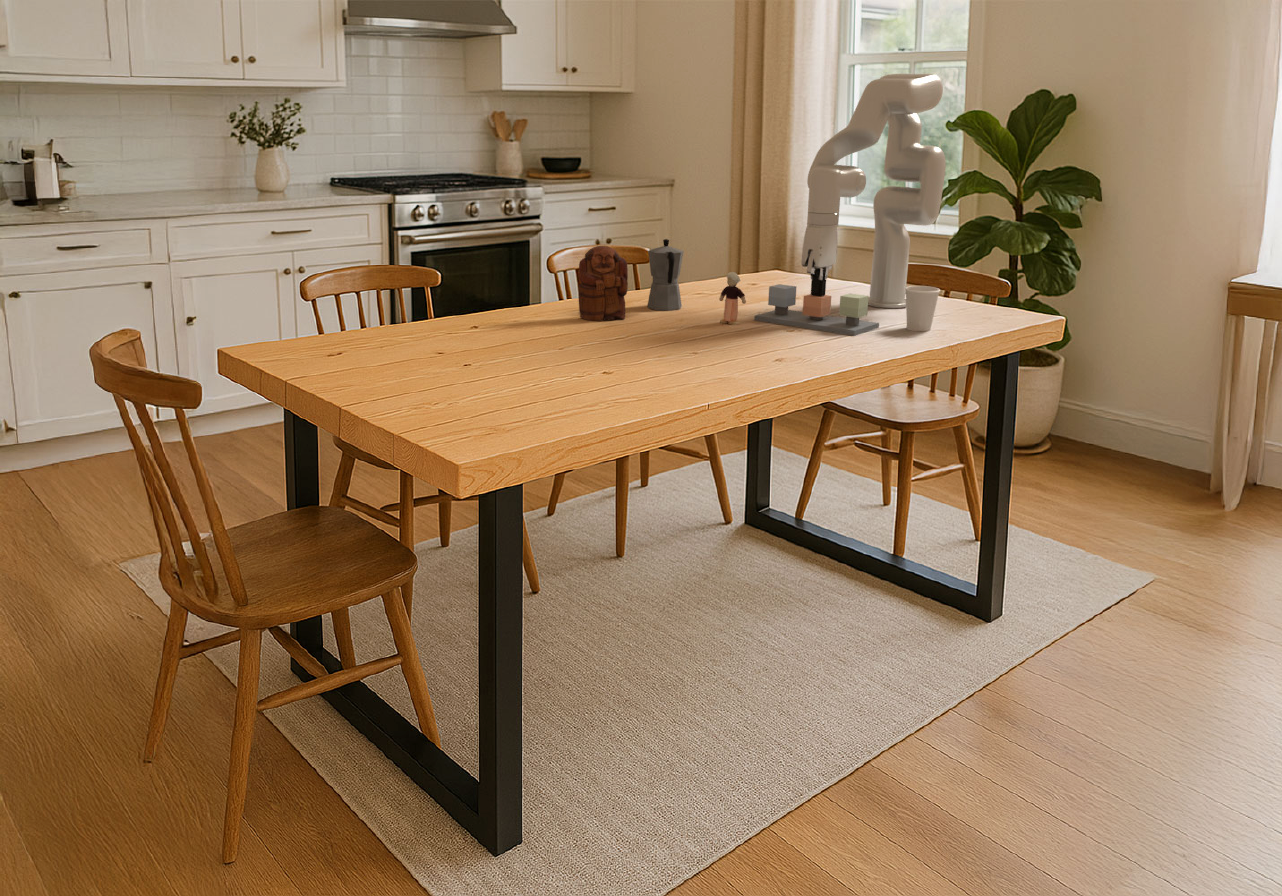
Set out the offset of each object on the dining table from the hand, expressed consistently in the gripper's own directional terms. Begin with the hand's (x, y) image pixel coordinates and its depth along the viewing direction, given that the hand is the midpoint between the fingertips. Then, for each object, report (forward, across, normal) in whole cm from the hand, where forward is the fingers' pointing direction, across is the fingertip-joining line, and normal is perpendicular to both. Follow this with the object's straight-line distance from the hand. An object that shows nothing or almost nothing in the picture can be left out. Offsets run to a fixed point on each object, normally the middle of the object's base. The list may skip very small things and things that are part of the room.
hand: (817, 295), depth 269 cm
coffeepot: (+7, +9, -40) cm, 42 cm away
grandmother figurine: (+7, +14, -16) cm, 23 cm away
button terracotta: (+5, 0, 0) cm, 5 cm away
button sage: (+4, 0, +10) cm, 11 cm away
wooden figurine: (+7, +31, -43) cm, 54 cm away
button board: (+7, 0, 0) cm, 7 cm away
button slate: (+4, 0, -10) cm, 11 cm away
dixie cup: (+7, -12, +22) cm, 26 cm away
